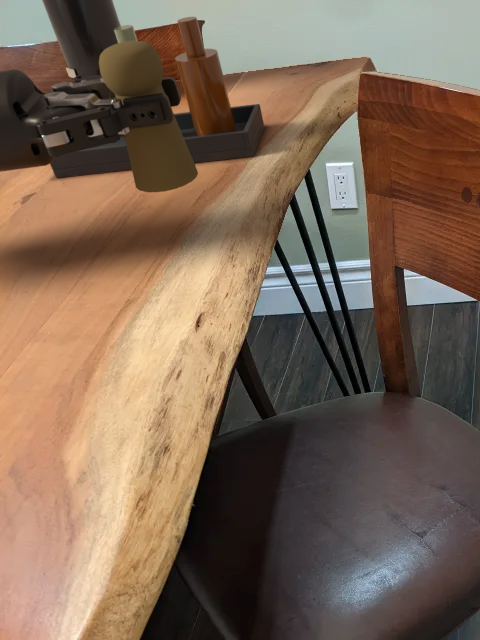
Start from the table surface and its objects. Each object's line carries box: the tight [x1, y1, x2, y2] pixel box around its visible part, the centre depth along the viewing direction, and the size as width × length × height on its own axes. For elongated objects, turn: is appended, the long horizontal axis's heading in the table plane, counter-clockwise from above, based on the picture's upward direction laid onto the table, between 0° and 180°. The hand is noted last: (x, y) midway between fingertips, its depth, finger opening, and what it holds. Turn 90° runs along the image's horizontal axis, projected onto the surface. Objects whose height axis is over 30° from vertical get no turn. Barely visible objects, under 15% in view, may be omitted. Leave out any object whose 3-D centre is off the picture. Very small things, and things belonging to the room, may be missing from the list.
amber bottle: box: [174, 16, 237, 136], centre depth 82 cm, size 5×5×12 cm
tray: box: [49, 103, 265, 179], centre depth 87 cm, size 25×10×3 cm, turn 89°
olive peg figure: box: [99, 40, 199, 193], centre depth 62 cm, size 6×6×11 cm
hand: (173, 99), depth 61 cm, fingers closed on olive peg figure, 4 cm apart
